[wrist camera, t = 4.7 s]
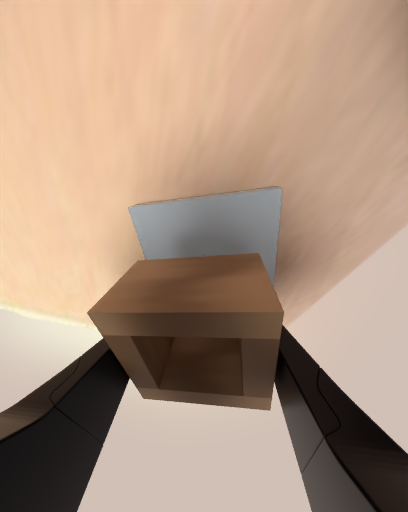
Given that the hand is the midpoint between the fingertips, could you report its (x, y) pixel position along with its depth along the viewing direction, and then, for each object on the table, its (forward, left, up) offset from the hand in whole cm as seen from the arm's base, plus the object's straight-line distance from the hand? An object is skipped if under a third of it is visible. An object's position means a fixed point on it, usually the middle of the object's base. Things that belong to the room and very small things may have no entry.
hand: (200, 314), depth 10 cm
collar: (0, 0, -1) cm, 1 cm away
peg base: (0, 0, -7) cm, 7 cm away
